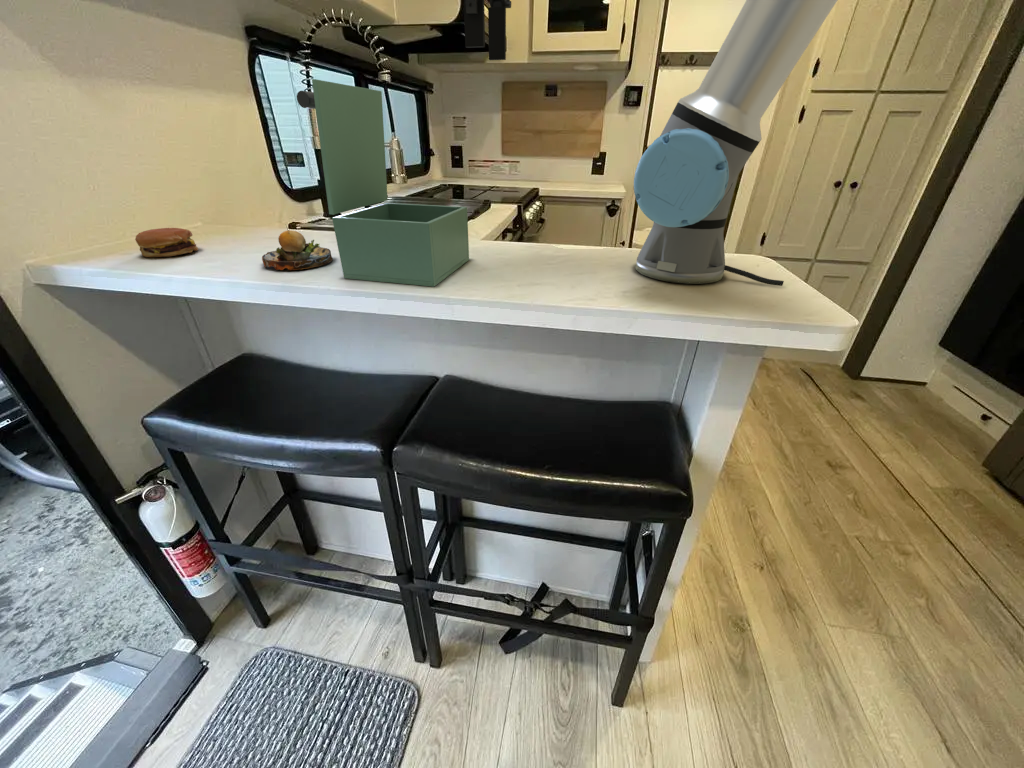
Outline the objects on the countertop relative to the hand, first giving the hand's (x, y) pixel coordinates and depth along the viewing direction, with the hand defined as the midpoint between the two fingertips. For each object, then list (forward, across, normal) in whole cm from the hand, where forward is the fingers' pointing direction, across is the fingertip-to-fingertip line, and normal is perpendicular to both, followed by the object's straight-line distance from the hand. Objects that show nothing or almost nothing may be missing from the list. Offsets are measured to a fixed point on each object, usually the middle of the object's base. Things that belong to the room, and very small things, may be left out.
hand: (487, 54), depth 63 cm
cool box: (+32, +8, -13) cm, 35 cm away
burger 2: (+32, +10, -35) cm, 49 cm away
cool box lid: (+13, +7, -20) cm, 25 cm away
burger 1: (+32, +11, -64) cm, 72 cm away
